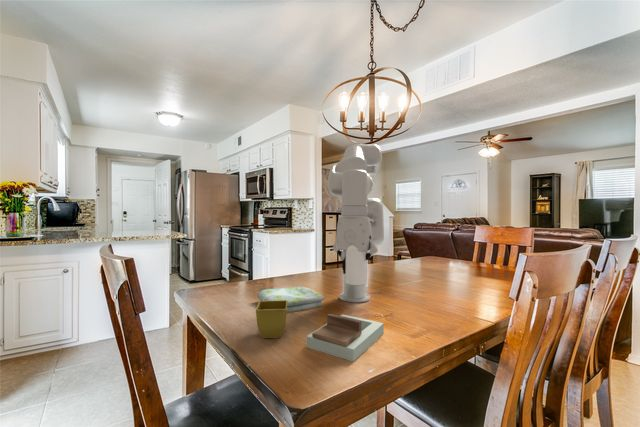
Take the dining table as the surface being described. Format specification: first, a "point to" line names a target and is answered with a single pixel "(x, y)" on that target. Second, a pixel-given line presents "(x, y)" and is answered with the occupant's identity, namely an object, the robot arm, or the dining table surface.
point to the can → (356, 267)
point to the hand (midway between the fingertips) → (354, 273)
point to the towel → (293, 297)
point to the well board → (356, 347)
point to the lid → (339, 330)
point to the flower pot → (271, 318)
